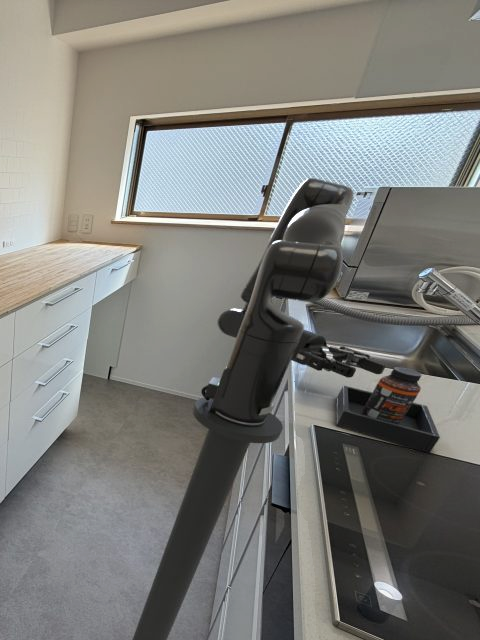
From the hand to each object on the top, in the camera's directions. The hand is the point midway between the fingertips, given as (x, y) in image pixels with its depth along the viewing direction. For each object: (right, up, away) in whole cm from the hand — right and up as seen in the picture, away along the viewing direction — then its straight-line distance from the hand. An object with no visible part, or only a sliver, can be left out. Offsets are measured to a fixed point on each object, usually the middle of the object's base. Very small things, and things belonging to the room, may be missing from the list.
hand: (368, 371), depth 86 cm
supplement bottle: (+1, -10, -1) cm, 10 cm away
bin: (+1, -11, -1) cm, 11 cm away
